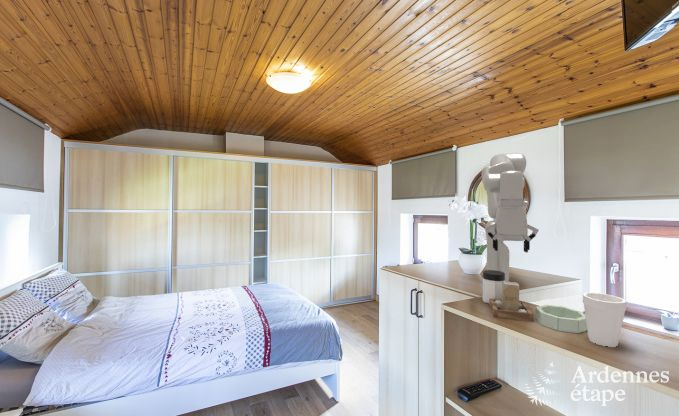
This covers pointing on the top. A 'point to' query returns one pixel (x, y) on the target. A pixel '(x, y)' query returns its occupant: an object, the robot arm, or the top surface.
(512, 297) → the box
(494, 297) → the jar
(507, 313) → the tray
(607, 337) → the foam cup
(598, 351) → the top surface
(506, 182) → the robot arm
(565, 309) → the bowl
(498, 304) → the pebble
